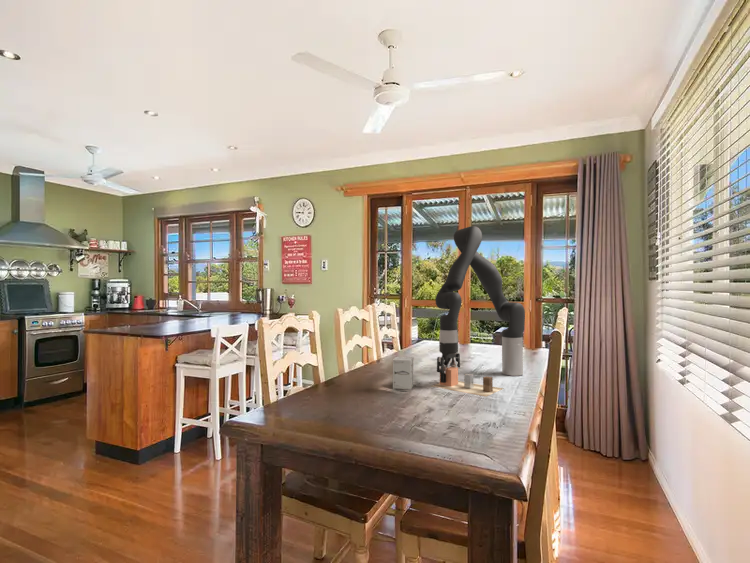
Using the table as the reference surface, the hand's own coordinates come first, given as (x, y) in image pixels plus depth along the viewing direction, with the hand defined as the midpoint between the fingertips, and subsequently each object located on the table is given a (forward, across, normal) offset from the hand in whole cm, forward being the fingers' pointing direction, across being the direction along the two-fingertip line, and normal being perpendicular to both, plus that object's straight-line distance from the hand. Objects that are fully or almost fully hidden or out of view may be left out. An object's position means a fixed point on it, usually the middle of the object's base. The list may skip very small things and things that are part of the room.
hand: (448, 380), depth 169 cm
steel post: (+1, 0, +9) cm, 9 cm away
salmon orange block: (+1, 0, 0) cm, 1 cm away
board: (+3, 0, +8) cm, 8 cm away
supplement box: (+3, +15, -12) cm, 19 cm away
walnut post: (+1, 0, +17) cm, 17 cm away
